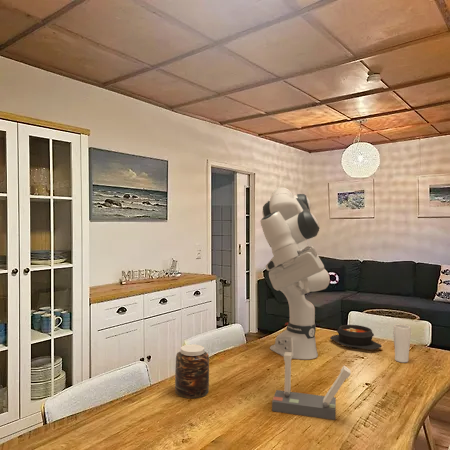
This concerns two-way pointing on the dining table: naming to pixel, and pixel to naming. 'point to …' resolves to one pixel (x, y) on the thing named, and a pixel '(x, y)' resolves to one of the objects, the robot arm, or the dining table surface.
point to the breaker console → (303, 405)
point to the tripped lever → (287, 373)
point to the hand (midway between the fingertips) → (305, 293)
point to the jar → (192, 372)
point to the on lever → (336, 385)
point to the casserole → (355, 337)
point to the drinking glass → (402, 342)
